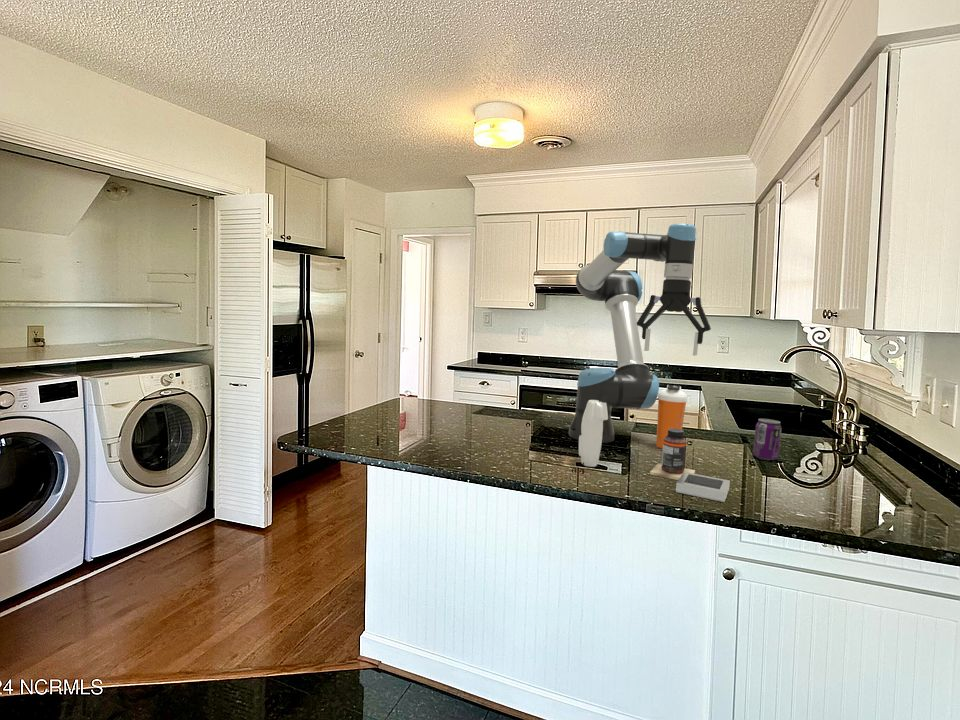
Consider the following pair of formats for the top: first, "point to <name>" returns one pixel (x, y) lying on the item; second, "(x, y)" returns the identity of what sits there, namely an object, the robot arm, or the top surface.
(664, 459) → the supplement bottle
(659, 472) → the maple coaster
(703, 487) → the grey tray
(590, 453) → the white bottle
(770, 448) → the beverage can
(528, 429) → the top surface
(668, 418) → the shaker bottle
